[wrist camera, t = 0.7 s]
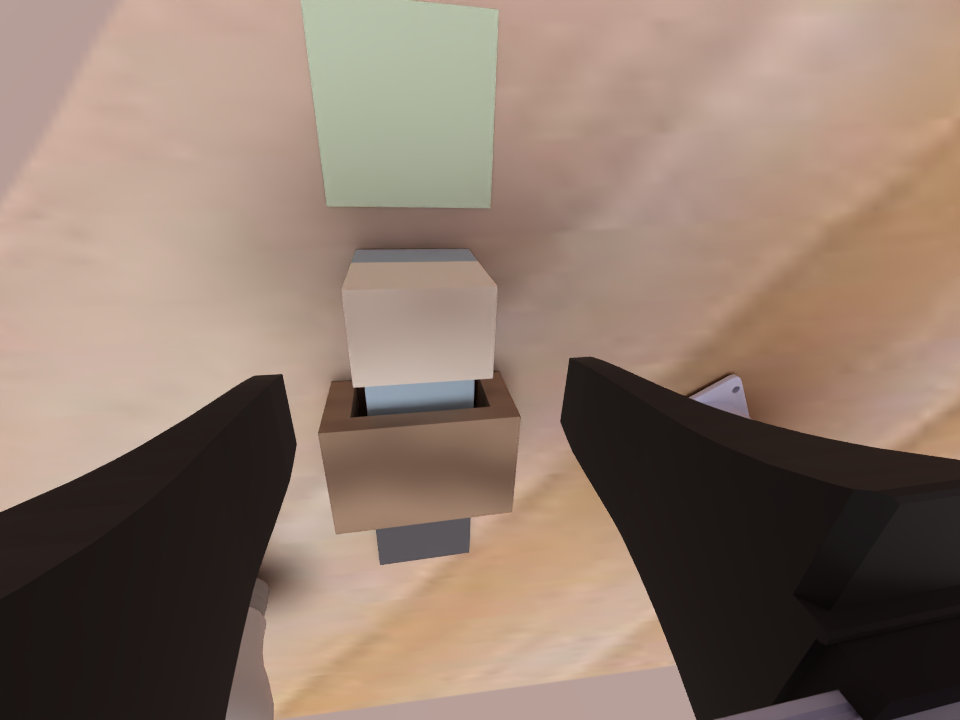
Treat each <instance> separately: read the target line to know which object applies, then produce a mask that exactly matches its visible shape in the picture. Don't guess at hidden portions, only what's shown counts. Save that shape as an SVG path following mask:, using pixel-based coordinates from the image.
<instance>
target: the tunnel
mask: <svg viewBox="0 0 960 720" xmlns="http://www.w3.org/2000/svg"><path fill="white" fill-rule="evenodd" d="M520 419H521V416H520V414H519V412H518V410H517V408H516V406H515V404H514V402H513V400H512V398H511V395H510V393H509V391H508V389H507V387H506V385H505V383H504V381H503V379H502V377H501V375H500V373H499V371H497V372H493V378H492V379H477V401H476V408H468V409H455V410H442V411H429V412H417V413H404V414H391V415H378V416H366V417H360V411H359V403H358V394H357V387H355V388H353V384H352V381H337V382H331V386H330V390H329V394H328V397H327V401H326V405H325V409H324V413H323V417H322V420H321V424H320V428H319V432H318V436H319V442H320V447H321V453H322V459H323V464H324V470H325V476H326V481H327V487H328V492H329V498H330V504H331V509H332V515H333V521H334V526H335V532H336V534H344V533H352V532H359V531H367V530H375V529H383V528H391V527H399V526H407V525H415V524H422V523H430V522H438V521H446V520H454V519H462V518H470V517H478V516H485V515H493V514H501V513H509V512H512V506H513V496H514V485H515V474H516V463H517V452H518V441H519V430H520Z"/></svg>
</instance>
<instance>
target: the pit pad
mask: <svg viewBox="0 0 960 720" xmlns="http://www.w3.org/2000/svg"><path fill="white" fill-rule="evenodd" d="M376 534H377V542H378V551H379V560H380V565H384V564H391V563H398V562H405V561H412V560H419V559H426V558H433V557H440V556H447V555H455V554H462V553H469V540H470V518H462V519H454V520H446V521H438V522H430V523H422V524H415V525H407V526H399V527H391V528H383V529H376Z"/></svg>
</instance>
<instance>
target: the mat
mask: <svg viewBox="0 0 960 720" xmlns="http://www.w3.org/2000/svg"><path fill="white" fill-rule="evenodd" d="M301 7H302V15H303V23H304V30H305V38H306V46H307V54H308V62H309V70H310V78H311V86H312V93H313V101H314V109H315V117H316V125H317V133H318V141H319V149H320V156H321V164H322V172H323V180H324V188H325V196H326V204H327V206H335V207H424V208H491V184H492V159H493V135H494V111H495V87H496V62H497V38H498V14H499V9H490V8H480V7H470V6H460V5H450V4H440V3H430V2H421V1H411V0H301Z"/></svg>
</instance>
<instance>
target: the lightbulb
mask: <svg viewBox="0 0 960 720" xmlns="http://www.w3.org/2000/svg"><path fill="white" fill-rule="evenodd" d="M268 596H269V587H268V585H267V584H266V583H265V582H264V581H263V580H261V579H259V578H257V579H256V582H255V586H254V589H253V593H252V597H251V602H250V606H249V610H248V614H247V619H246V623H245V627H244V632H243V636H242V640H241V645H240V650H239V655H238V659H237V664H236V669H235V673H234V678H233V683H232V688H231V692H230V698H229V703H228V708H227V713H226V719H225V720H273V716H274V703H273V698H272V694H271V689H270V685H269V680H268V677H267V674H266V671H265V667H264V661H263V638H264V633H265V628H266V620H265V618H264V615H265V611H266V607H267V603H268Z"/></svg>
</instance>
